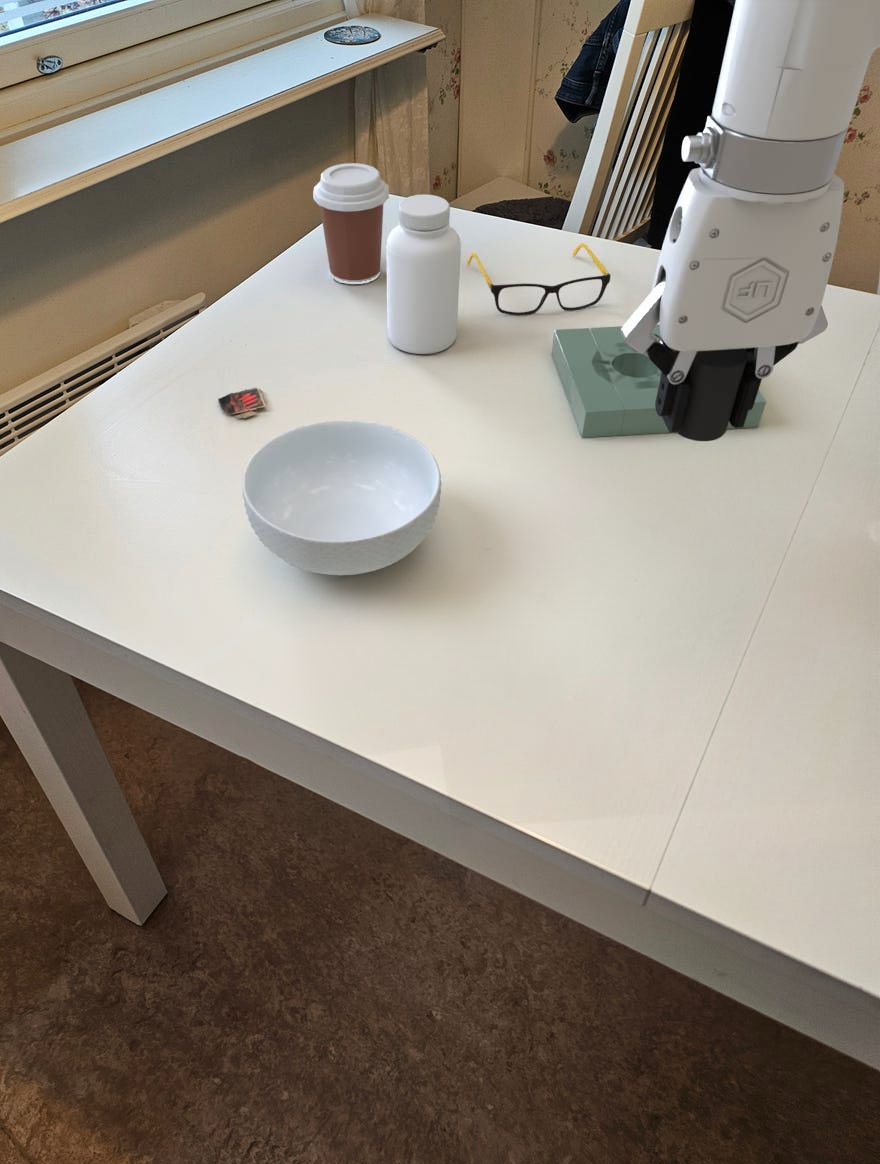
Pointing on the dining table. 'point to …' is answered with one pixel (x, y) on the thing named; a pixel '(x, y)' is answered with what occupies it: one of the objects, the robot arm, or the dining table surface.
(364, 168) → the coffee cup
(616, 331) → the plate
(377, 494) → the cereal bowl
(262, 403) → the matchbox
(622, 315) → the dining table surface
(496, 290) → the eyeglasses
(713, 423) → the stopper
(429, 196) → the pill bottle
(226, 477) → the dining table surface
